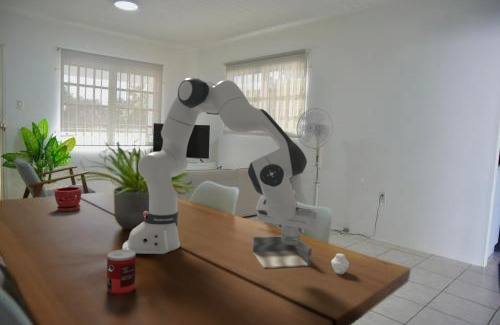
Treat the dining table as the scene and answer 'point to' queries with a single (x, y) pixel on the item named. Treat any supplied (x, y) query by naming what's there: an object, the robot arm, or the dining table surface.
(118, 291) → the canned food
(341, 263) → the white rounded ceramic piece
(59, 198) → the plant pot
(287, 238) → the camera lens
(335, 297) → the dining table surface
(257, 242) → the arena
